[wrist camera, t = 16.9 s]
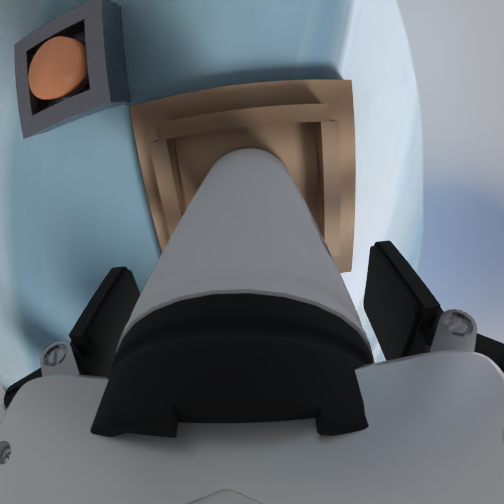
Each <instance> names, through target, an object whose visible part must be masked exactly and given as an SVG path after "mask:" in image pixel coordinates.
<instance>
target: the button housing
mask: <svg viewBox="0 0 504 504" xmlns="http://www.w3.org/2000/svg"><path fill="white" fill-rule="evenodd" d="M59 36H63V37H68V38H73V39H77V40H81V41H85V42H86V56H87V66H88V76H89V82H88V83H87V85H86V86H85V87H84V88H83V89H82V90H81V91H80V92H78V93H77V94H75V95H73V96H70V97H64V98H54V99H40V98H38V97H36V96H35V95H34V94H33V93H32V91H31V89H30V86H29V80H28V75H29V68H30V64H31V62H32V59H33V57H34V55H35V54H36V52H37V51H38V49H39V48H40V47H41V46H42V45H43V44H44V43H45V42H47V41H48V40H50V39H52V38H54V37H59ZM15 76H16V89H17V98H18V107H19V114H20V121H21V127H22V133H23V138H24V139H25V138H28V137H31V136H34V135H37V134H41V133H44V132H48V131H50V130H52V129H54V128H57V127H59V126H61V125H64V124H66V123H69V122H71V121H74V120H76V119H79V118H82V117H84V116H87V115H90V114H93V113H95V112H98V111H101V110H104V109H107V108H110V107H113V106H117V105H120V104H123V103H127V102H130V95H129V88H128V81H127V73H126V65H125V56H124V46H123V35H122V21H121V6H119V5H117V4H116V3H114V2H112V1H111V0H90V1H88V2H86V3H84V4H82V5H80V6H78V7H76V8H74V9H72V10H70V11H68V12H66V13H64V14H62V15H61V16H59V17H57V18H55V19H54V20H52V21H50V22H48V23H47V24H45V25H43V26H42V27H40V28H39V29H37V30H35V31H34V32H32V33H31V34H29V35H28V36H26V37H25V38H23V39H22V40H20V41H19V42H18V43H16V44H15Z"/></svg>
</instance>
